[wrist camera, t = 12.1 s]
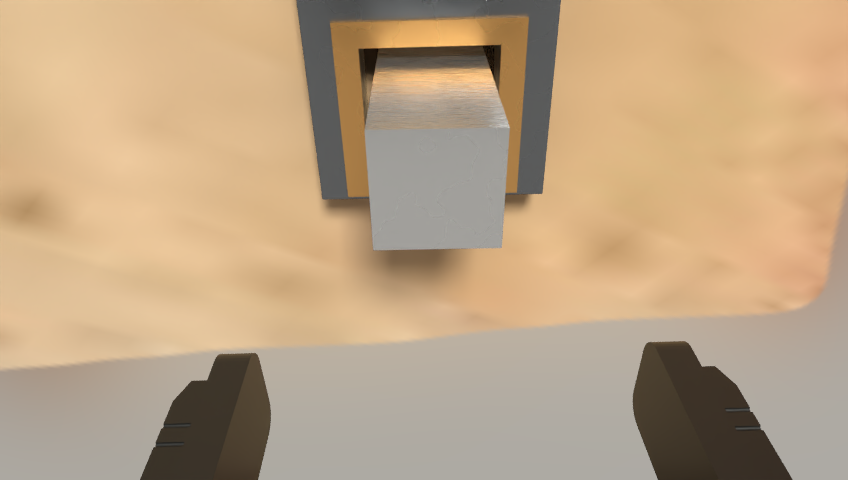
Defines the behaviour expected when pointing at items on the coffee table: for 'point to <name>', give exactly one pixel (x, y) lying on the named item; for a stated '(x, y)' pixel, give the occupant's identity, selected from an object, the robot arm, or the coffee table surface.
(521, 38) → the grey peg board
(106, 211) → the coffee table surface
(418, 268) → the coffee table surface
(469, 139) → the grey metal block
